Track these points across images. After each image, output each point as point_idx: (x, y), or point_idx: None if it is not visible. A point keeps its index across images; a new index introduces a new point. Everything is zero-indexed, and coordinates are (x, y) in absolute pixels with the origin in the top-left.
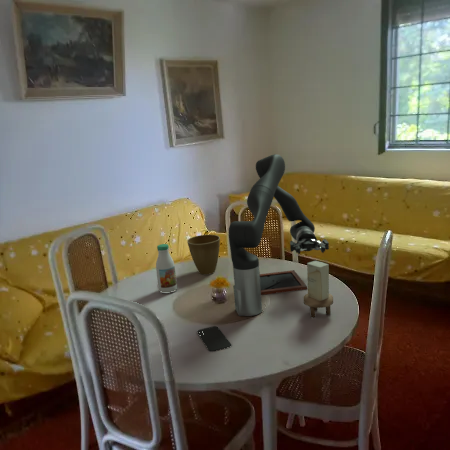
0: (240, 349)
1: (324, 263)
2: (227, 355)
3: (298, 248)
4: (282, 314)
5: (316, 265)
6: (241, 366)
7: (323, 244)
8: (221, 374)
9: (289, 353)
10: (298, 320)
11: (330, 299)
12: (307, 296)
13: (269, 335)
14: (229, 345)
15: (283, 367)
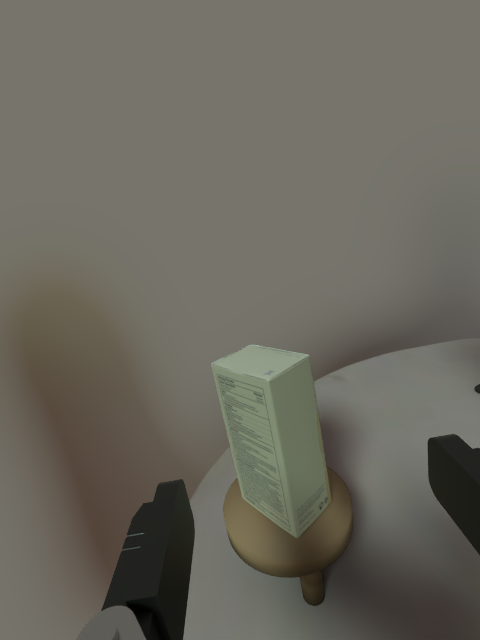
0: (444, 387)
1: (226, 366)
2: (456, 374)
3: (450, 435)
4: (447, 541)
5: (265, 351)
6: (407, 363)
7: (102, 618)
8: (426, 351)
9: (339, 392)
10: (361, 501)
11: (237, 485)
12: (333, 503)
13: (412, 428)
14: (478, 387)
15: (338, 372)
